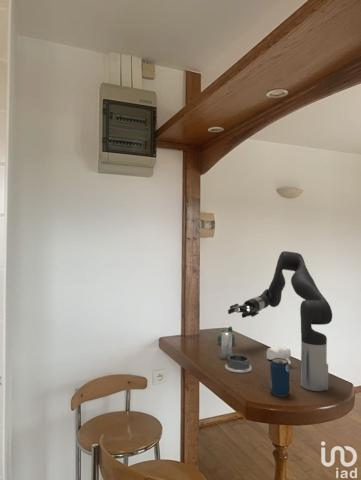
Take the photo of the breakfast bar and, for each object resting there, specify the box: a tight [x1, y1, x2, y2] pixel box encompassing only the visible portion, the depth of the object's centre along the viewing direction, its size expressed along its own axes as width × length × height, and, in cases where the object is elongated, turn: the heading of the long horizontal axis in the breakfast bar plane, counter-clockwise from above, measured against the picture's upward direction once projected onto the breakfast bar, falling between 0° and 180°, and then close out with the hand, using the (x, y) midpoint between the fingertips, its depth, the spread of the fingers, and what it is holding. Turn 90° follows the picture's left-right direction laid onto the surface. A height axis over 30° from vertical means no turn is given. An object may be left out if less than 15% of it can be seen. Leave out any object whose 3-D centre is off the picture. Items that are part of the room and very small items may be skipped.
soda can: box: [269, 358, 291, 397], centre depth 129 cm, size 7×7×12 cm
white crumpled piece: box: [266, 345, 292, 365], centre depth 163 cm, size 9×8×15 cm
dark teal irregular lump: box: [217, 326, 236, 347], centre depth 192 cm, size 9×9×9 cm
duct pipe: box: [220, 331, 233, 361], centre depth 169 cm, size 5×5×12 cm
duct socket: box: [224, 354, 253, 374], centre depth 155 cm, size 12×12×4 cm
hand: (235, 313), depth 174 cm, fingers open, 8 cm apart
